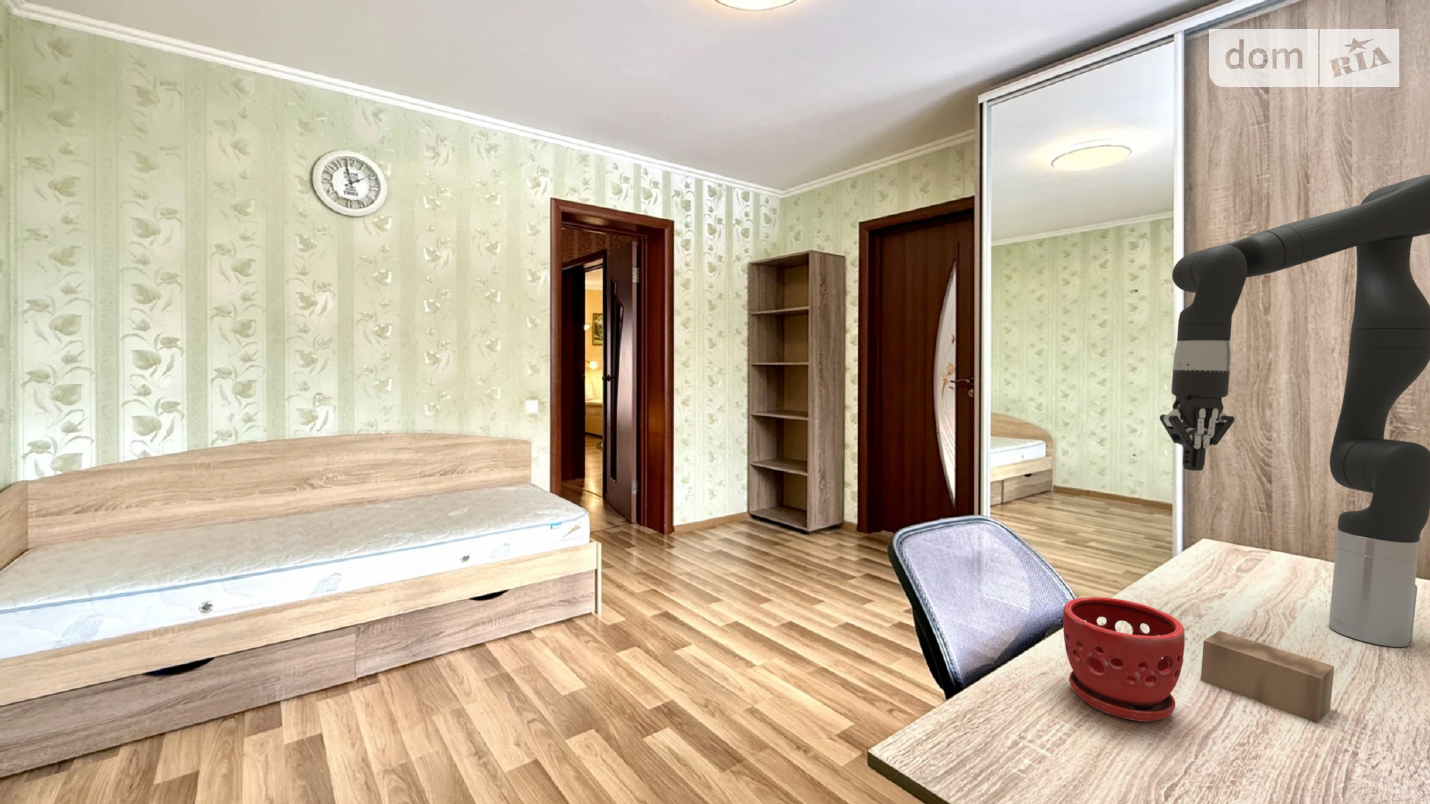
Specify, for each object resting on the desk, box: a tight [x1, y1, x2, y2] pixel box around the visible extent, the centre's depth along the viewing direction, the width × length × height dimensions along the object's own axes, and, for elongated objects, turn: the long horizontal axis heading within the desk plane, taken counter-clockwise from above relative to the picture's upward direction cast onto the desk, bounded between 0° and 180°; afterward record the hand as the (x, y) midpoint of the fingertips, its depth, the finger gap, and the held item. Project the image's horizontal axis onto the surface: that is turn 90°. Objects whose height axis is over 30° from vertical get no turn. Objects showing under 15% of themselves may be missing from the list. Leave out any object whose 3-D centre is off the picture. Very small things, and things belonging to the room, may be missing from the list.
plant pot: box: [1062, 596, 1186, 722], centre depth 79 cm, size 13×13×12 cm
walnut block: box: [1200, 630, 1335, 724], centre depth 82 cm, size 6×6×12 cm
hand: (1193, 469), depth 103 cm, fingers closed
